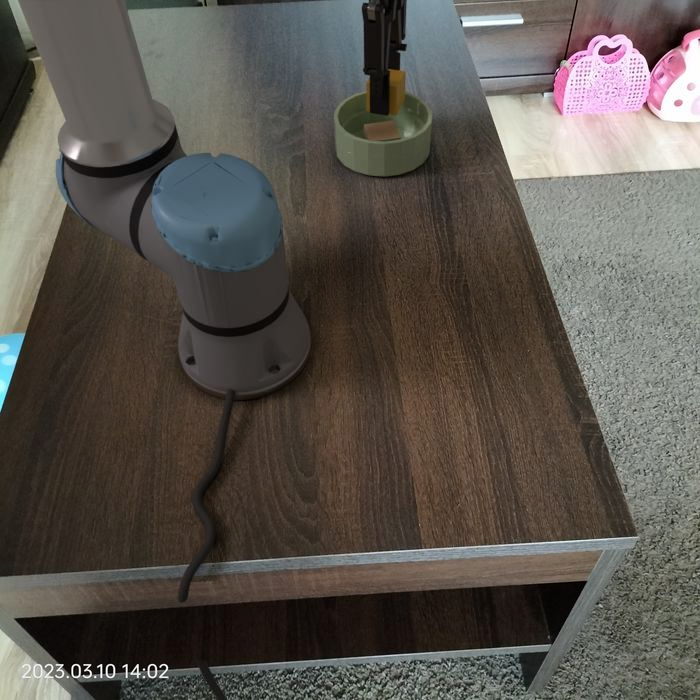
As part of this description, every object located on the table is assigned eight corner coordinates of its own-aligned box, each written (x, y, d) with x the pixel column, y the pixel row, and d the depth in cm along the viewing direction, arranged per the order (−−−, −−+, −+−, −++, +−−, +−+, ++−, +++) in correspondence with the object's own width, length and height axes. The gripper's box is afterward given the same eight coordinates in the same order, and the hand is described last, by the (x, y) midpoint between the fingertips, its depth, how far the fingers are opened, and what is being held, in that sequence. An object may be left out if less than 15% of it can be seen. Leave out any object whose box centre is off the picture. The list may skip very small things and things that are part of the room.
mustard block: (396, 115, 105) (396, 86, 101) (366, 111, 106) (366, 82, 102) (404, 99, 108) (405, 71, 104) (376, 95, 109) (375, 66, 105)
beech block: (400, 164, 107) (401, 137, 103) (370, 168, 106) (370, 141, 103) (393, 146, 110) (393, 120, 106) (363, 150, 109) (363, 124, 106)
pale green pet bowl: (425, 182, 104) (427, 146, 100) (328, 175, 106) (326, 139, 102) (433, 127, 114) (435, 91, 109) (343, 121, 115) (342, 86, 111)
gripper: (396, -38, 83) (392, 140, 100) (435, -92, 93) (424, 77, 111) (334, -45, 84) (340, 131, 102) (379, -98, 95) (378, 70, 113)
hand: (384, 103), depth 106 cm, fingers closed on mustard block, 4 cm apart
